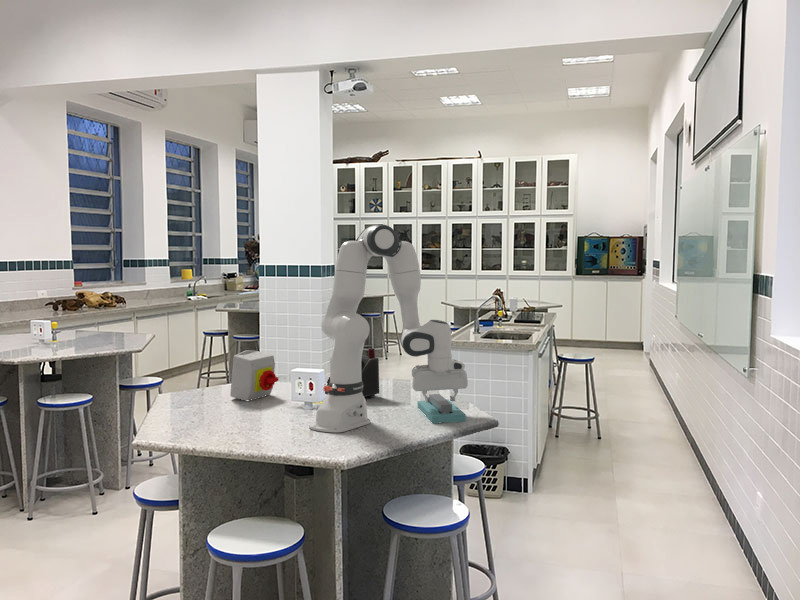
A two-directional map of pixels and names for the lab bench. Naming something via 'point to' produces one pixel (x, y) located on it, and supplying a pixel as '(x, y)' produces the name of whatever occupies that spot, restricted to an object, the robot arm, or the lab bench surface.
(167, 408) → the lab bench surface
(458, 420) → the mounting plate
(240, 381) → the electrical switch box
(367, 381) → the voltmeter
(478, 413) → the lab bench surface
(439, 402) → the pin bar
